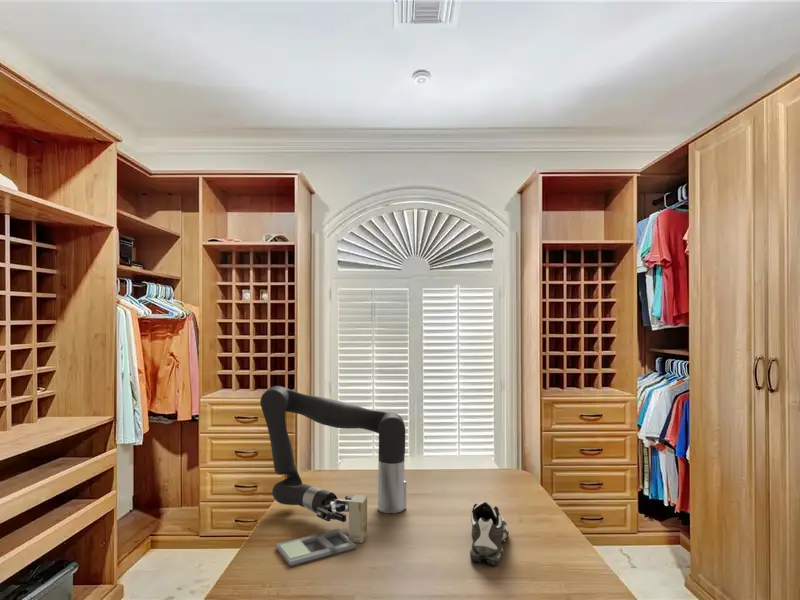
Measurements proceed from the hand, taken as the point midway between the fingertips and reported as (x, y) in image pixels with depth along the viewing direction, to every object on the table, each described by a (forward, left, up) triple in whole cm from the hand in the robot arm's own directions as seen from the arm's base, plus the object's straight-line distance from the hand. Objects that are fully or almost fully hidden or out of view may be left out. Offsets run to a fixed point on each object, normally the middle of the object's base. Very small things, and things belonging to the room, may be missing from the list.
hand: (355, 514), depth 156 cm
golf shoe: (-33, +24, -8) cm, 42 cm away
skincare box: (-1, +1, -8) cm, 8 cm away
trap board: (+13, +1, -7) cm, 15 cm away
